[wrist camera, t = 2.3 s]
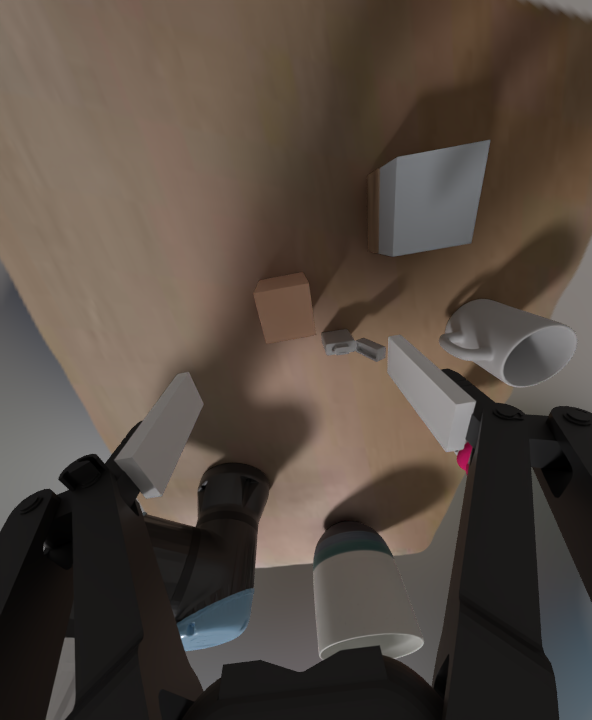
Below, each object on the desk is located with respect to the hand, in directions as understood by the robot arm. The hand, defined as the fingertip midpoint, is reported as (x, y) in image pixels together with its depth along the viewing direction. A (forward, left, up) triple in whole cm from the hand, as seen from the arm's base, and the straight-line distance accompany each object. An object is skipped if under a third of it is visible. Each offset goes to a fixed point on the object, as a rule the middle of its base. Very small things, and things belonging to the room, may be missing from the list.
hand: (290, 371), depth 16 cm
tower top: (+16, +8, -16) cm, 24 cm away
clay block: (0, 0, -20) cm, 20 cm away
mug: (+26, -10, -20) cm, 34 cm away
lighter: (+8, -7, -20) cm, 23 cm away
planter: (+4, -65, -20) cm, 68 cm away
